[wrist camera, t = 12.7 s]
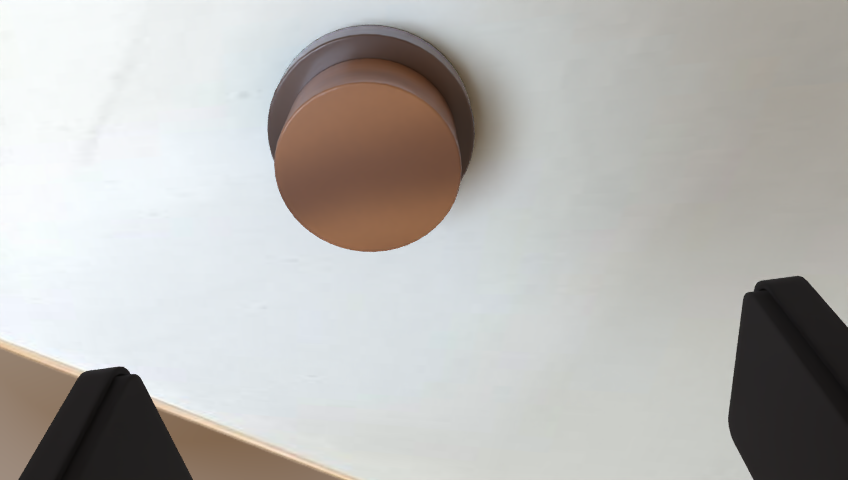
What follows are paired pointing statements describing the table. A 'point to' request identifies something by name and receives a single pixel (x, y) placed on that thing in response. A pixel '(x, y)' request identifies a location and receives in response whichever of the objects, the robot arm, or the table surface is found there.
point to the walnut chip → (375, 46)
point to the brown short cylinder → (369, 156)
